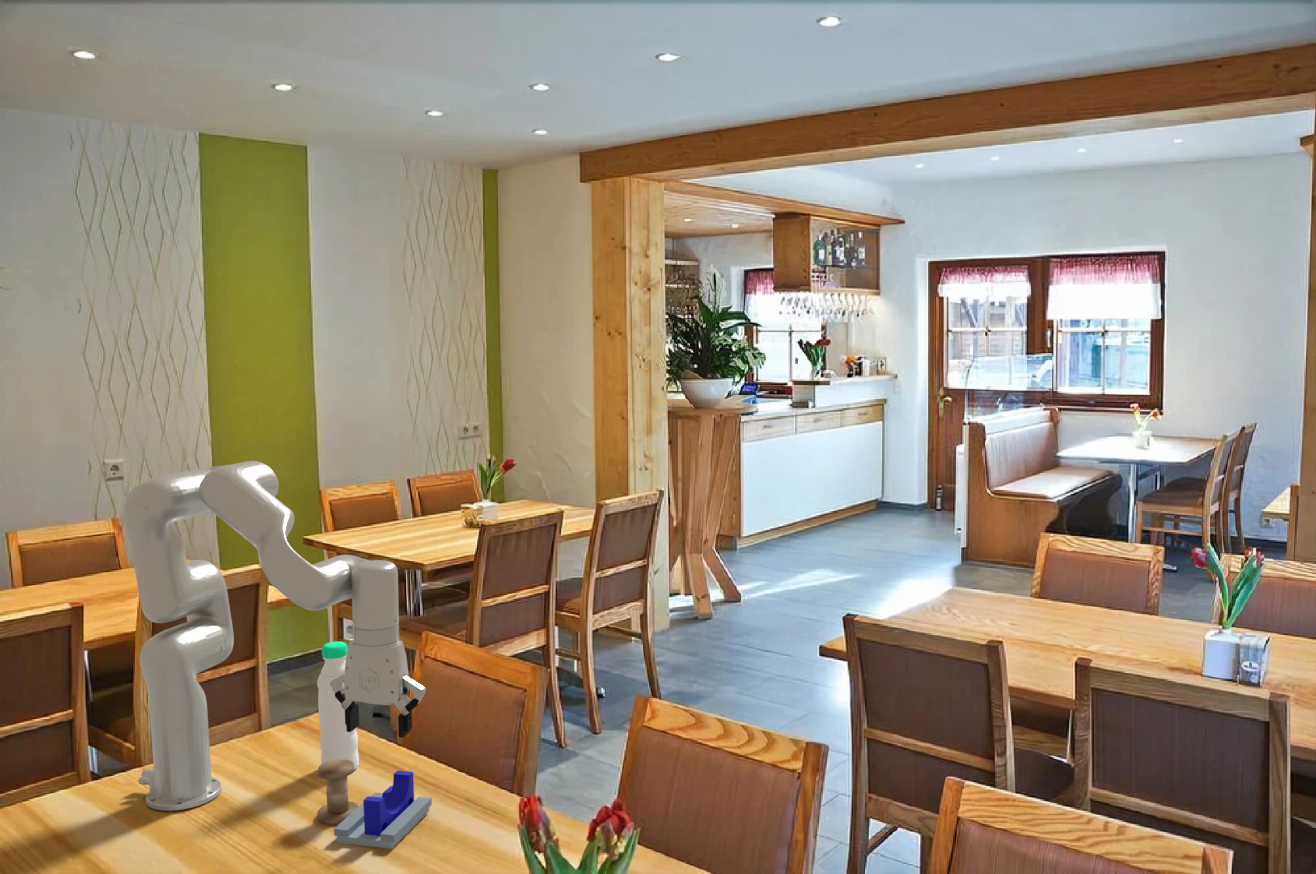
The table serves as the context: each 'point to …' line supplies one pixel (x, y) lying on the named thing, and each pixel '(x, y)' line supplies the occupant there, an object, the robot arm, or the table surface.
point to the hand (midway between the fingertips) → (378, 732)
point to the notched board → (354, 829)
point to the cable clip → (388, 803)
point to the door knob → (336, 791)
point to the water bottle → (334, 709)
